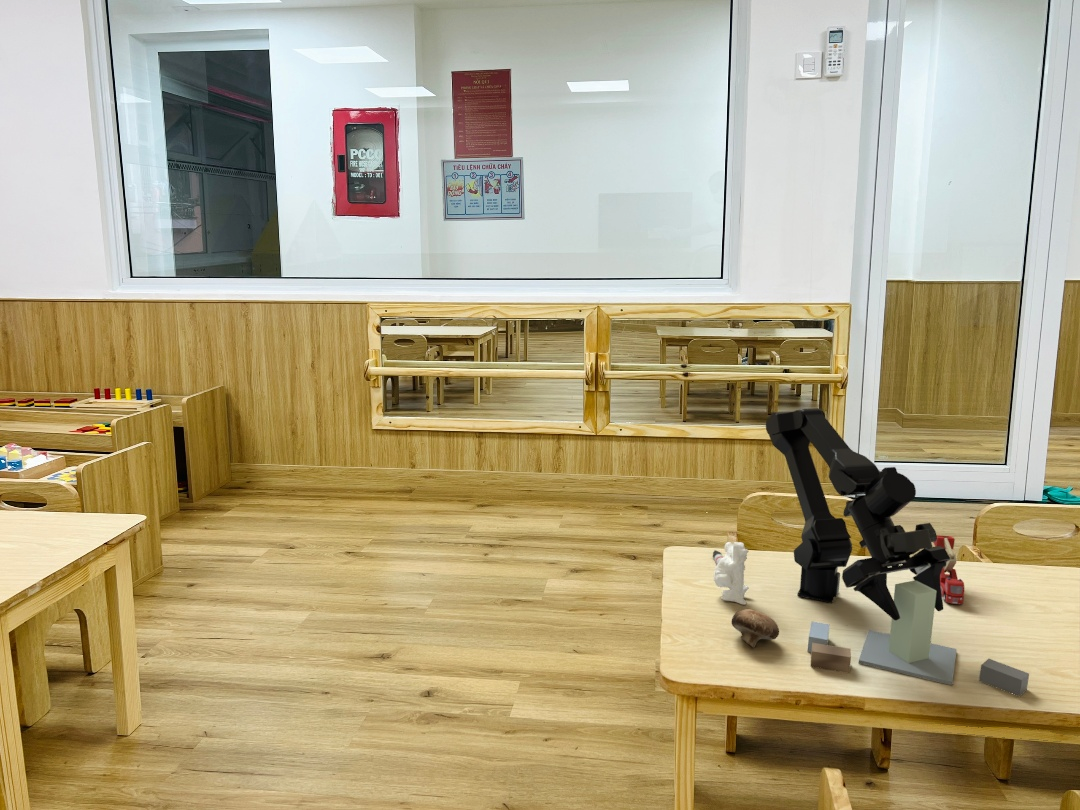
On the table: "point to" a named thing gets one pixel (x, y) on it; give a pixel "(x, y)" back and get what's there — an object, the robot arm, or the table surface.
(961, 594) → the toy fire truck
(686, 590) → the table surface
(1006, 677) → the charcoal brick
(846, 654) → the walnut brick
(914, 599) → the sage brick
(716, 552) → the marker
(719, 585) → the white toy figurine
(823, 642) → the dusty blue brick
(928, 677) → the slate mat
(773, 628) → the mushroom
